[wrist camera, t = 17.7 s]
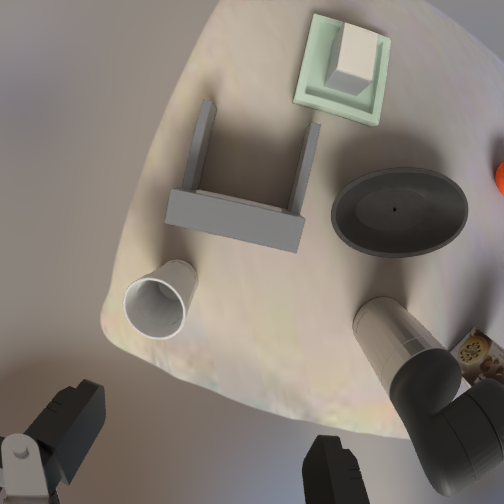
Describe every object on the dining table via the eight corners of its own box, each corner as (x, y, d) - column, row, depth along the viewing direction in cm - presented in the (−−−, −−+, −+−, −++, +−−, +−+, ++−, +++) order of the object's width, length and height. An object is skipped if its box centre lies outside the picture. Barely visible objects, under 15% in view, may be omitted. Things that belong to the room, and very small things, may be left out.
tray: (385, 44, 37) (390, 39, 35) (372, 127, 41) (378, 124, 38) (311, 20, 37) (313, 13, 35) (292, 103, 40) (294, 98, 38)
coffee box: (453, 372, 50) (492, 418, 34) (443, 357, 49) (484, 404, 33) (483, 342, 48) (527, 380, 32) (474, 324, 47) (522, 363, 31)
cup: (155, 302, 47) (127, 336, 36) (152, 253, 46) (119, 276, 34) (204, 304, 47) (187, 342, 35) (202, 254, 45) (183, 279, 34)
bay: (314, 130, 41) (329, 116, 31) (288, 238, 45) (296, 253, 35) (209, 107, 41) (195, 88, 31) (184, 214, 44) (164, 223, 34)
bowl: (318, 171, 42) (327, 169, 36) (445, 169, 41) (466, 169, 35) (323, 253, 45) (333, 264, 39) (446, 242, 44) (467, 250, 38)
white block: (363, 49, 37) (380, 30, 30) (356, 96, 39) (373, 81, 32) (332, 39, 37) (344, 17, 30) (323, 86, 39) (335, 69, 31)
